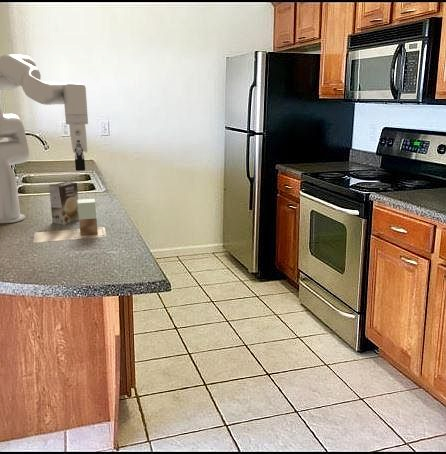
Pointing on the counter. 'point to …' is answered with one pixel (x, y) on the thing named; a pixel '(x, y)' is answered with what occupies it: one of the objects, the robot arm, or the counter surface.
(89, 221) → the walnut block
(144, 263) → the counter surface
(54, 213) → the coffee box
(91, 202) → the sage block
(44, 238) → the board
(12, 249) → the counter surface
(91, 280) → the counter surface
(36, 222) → the counter surface
